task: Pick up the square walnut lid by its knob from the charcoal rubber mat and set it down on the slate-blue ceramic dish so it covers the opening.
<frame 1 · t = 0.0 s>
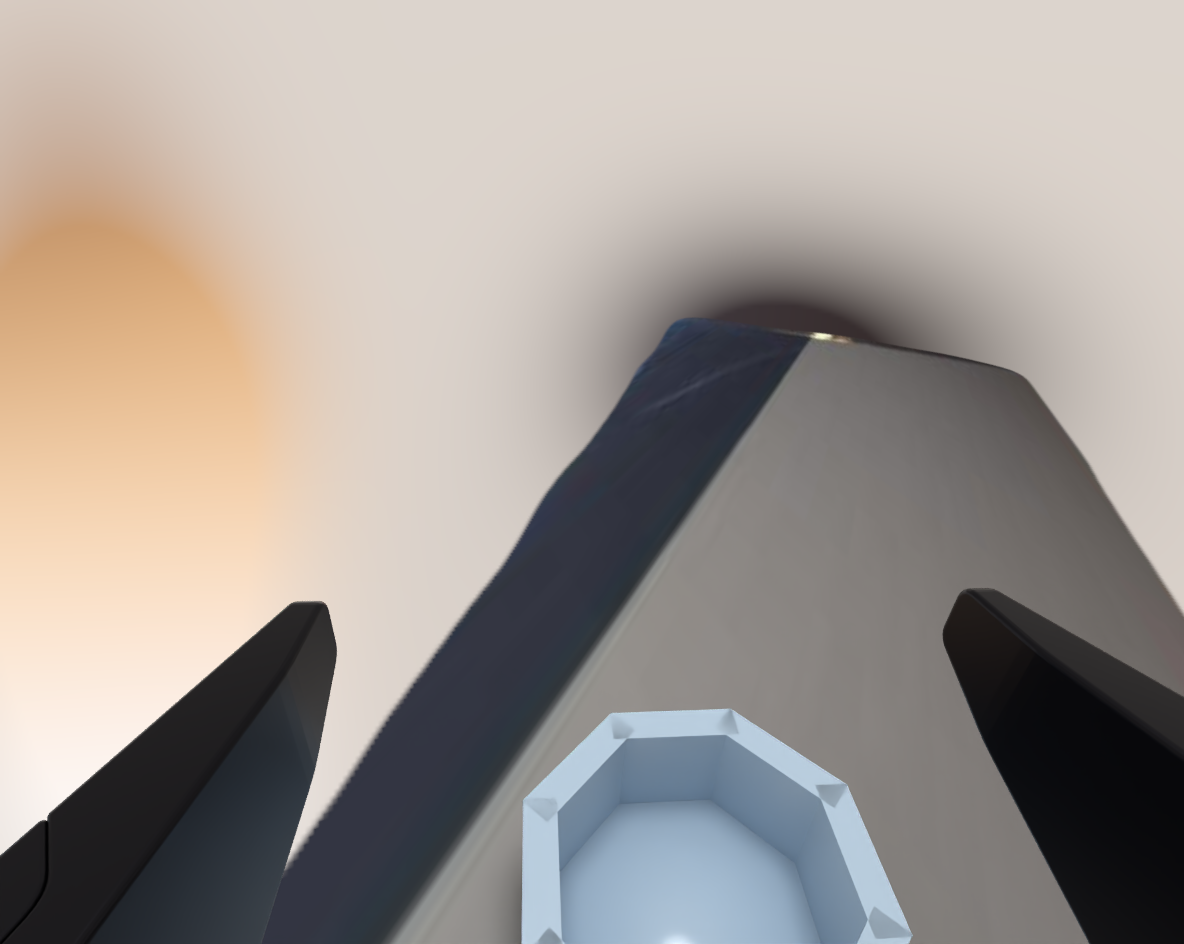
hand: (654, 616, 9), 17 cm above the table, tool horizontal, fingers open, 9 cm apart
bowl: (684, 938, 21), on the table
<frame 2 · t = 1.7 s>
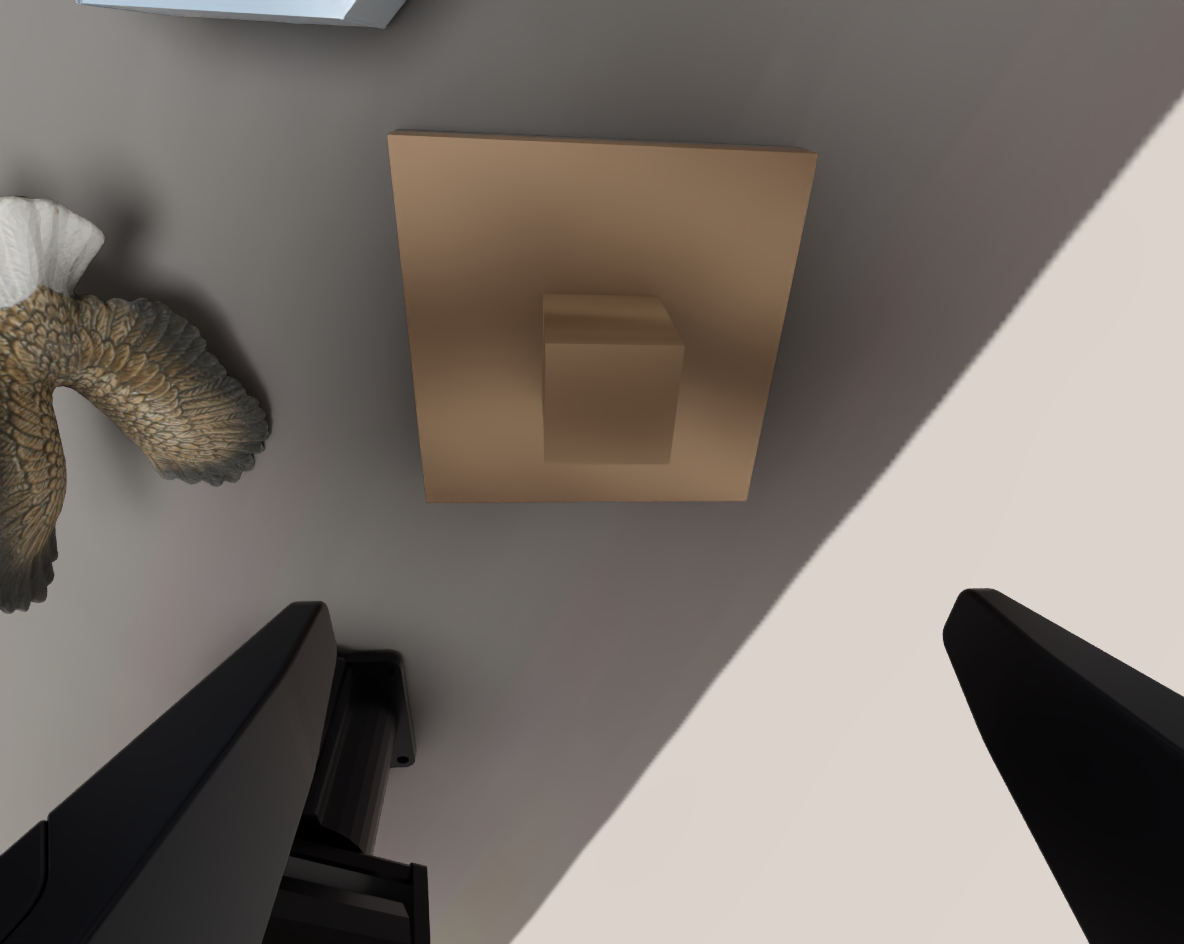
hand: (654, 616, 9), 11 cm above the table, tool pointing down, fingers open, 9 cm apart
lid: (595, 336, 19), resting on mat
mat: (594, 331, 19), on the table
eagle figurine: (119, 347, 18), on the table
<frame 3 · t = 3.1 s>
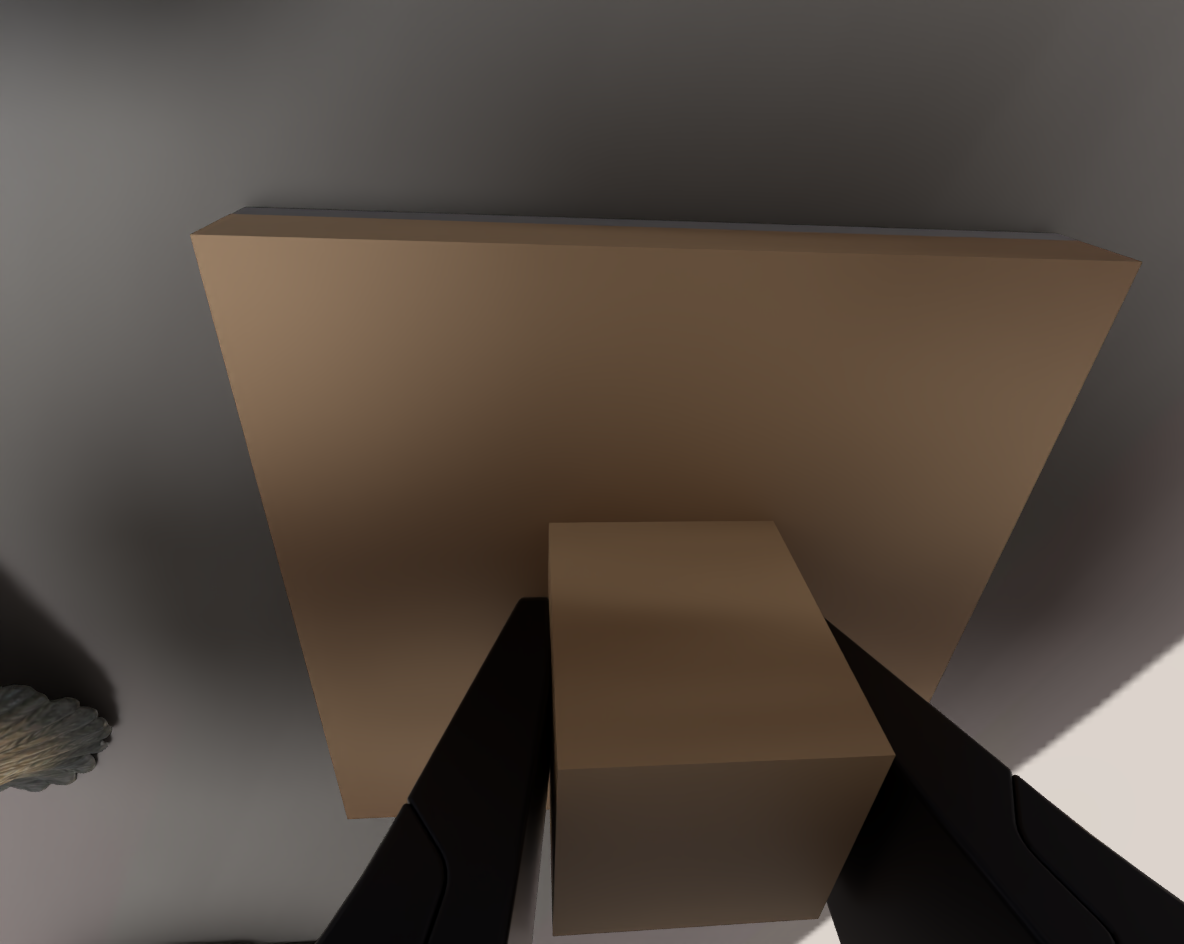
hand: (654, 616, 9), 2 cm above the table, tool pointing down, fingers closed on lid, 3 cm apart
lid: (642, 560, 10), resting on mat, touching gripper
mat: (639, 544, 11), on the table
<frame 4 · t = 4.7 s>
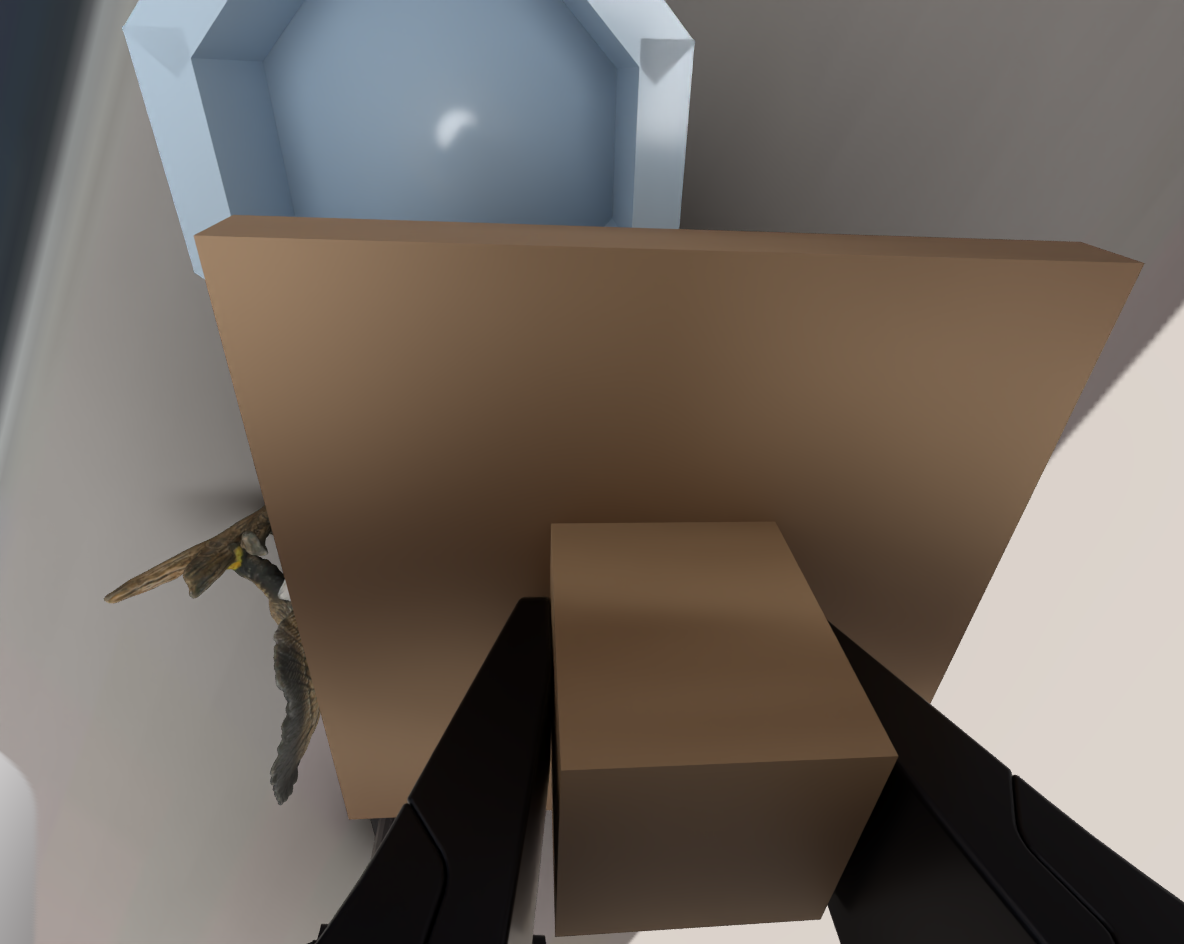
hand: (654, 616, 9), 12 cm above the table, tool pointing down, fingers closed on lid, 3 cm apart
lid: (643, 561, 10), point 11 cm above the table, touching gripper
bowl: (453, 142, 17), on the table
eagle figurine: (338, 572, 24), on the table
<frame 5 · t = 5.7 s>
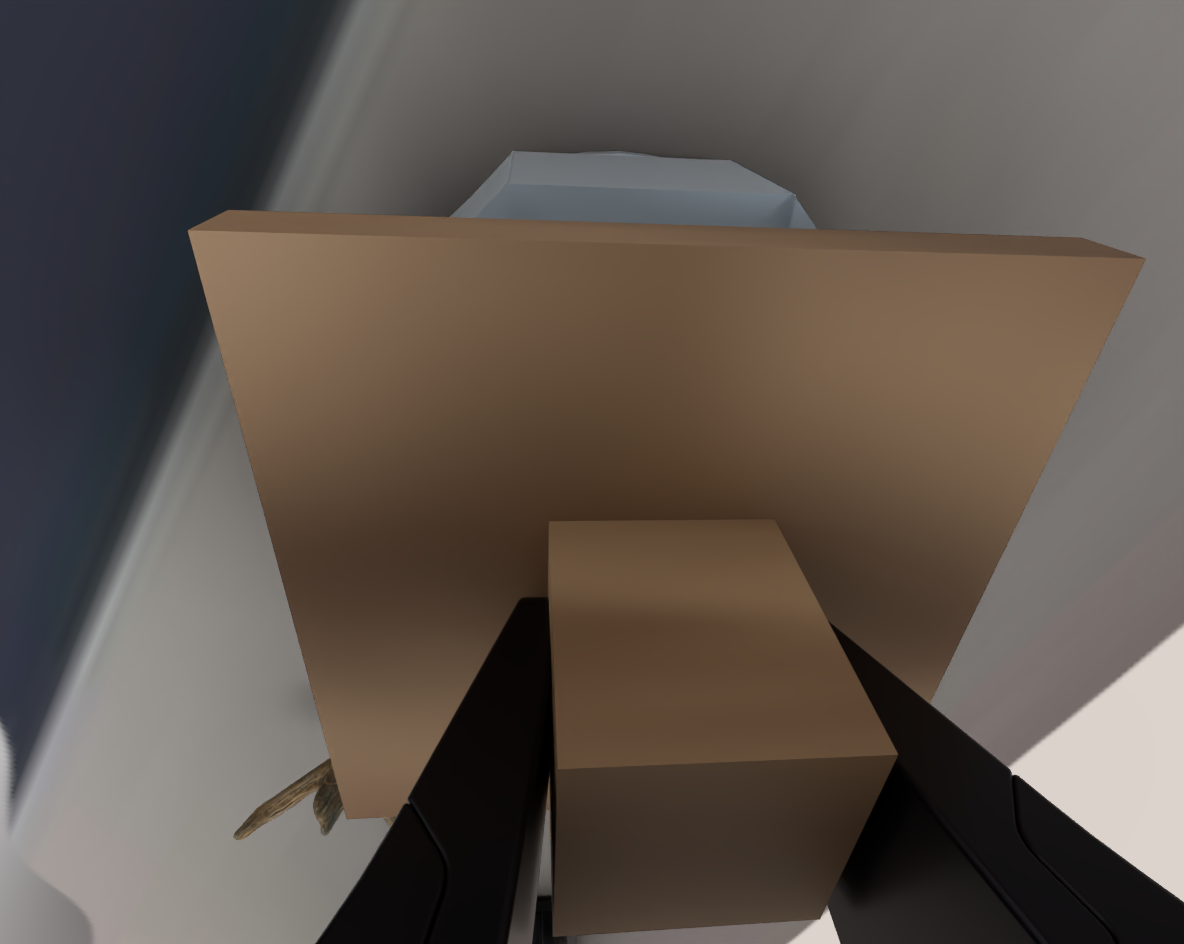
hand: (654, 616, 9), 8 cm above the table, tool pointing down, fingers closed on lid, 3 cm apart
lid: (642, 559, 10), point 7 cm above the table, touching gripper
bowl: (603, 380, 16), on the table
eagle figurine: (436, 747, 23), on the table
when the fingers open (7 cm above the table, at t = 6.4 s): lid drops 2 cm, resting on bowl.
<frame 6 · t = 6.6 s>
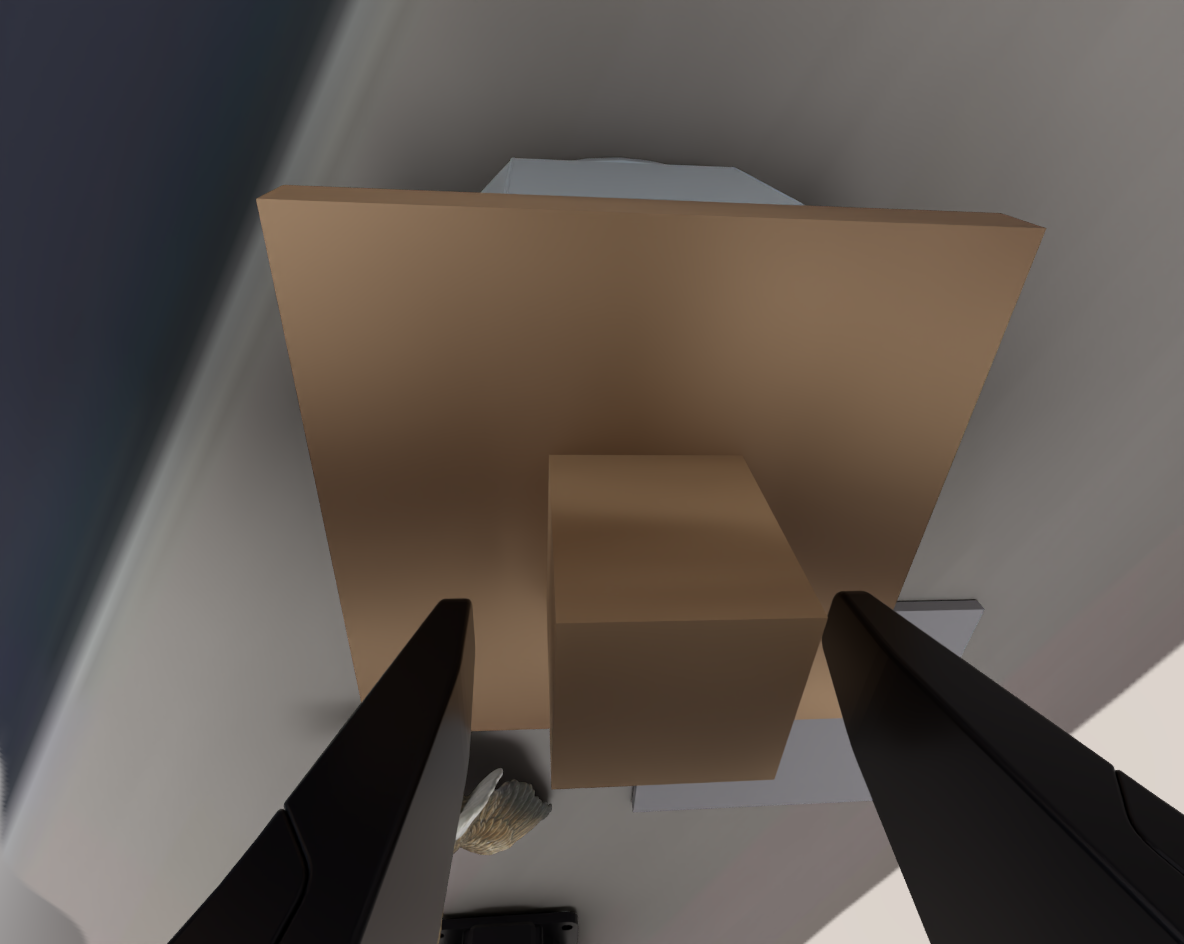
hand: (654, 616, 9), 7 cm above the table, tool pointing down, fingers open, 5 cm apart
lid: (630, 498, 12), point 4 cm above the table, touching bowl
bowl: (605, 390, 15), on the table
mat: (787, 711, 22), on the table
eagle figurine: (443, 764, 23), on the table
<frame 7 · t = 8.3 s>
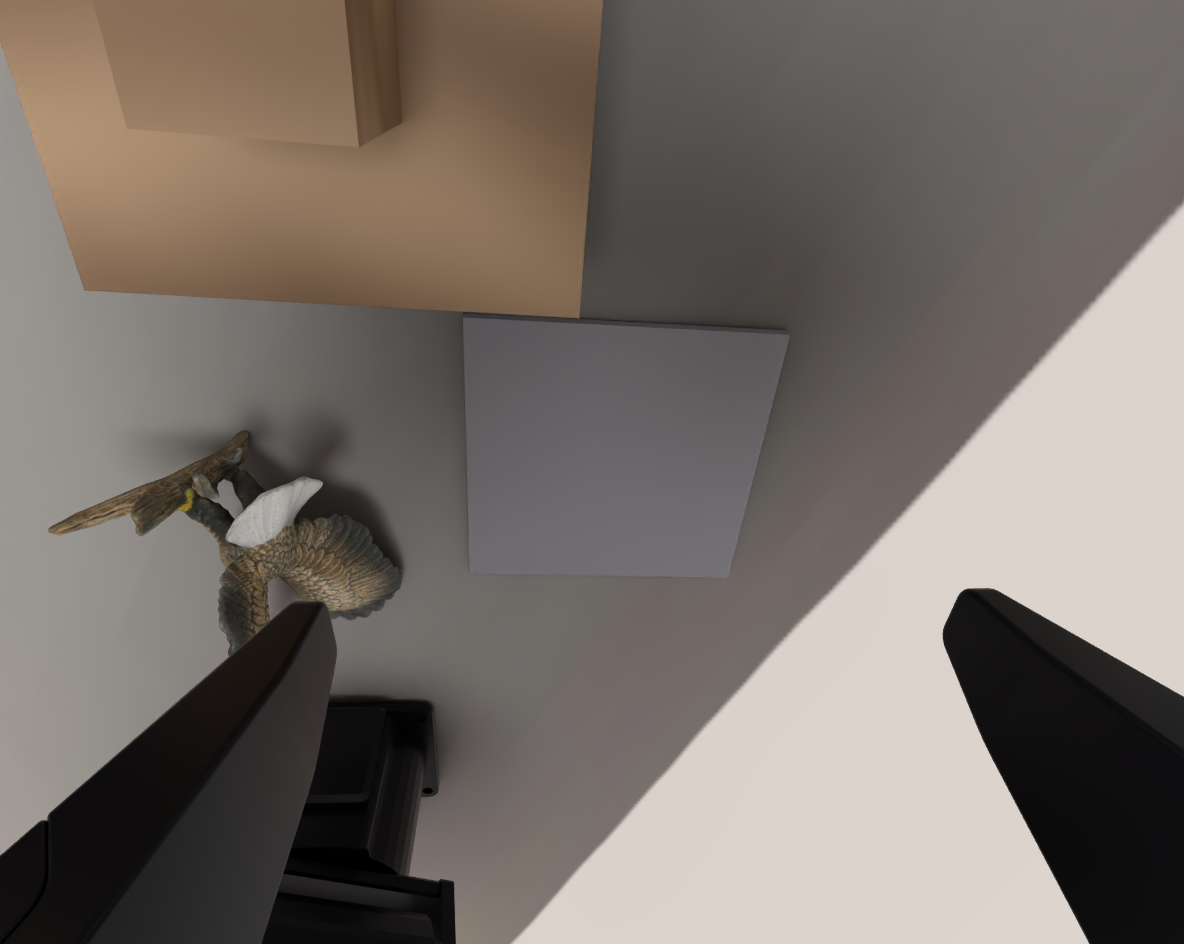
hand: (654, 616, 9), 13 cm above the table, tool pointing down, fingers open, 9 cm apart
lid: (321, 16, 12), point 4 cm above the table, touching bowl
mat: (613, 459, 23), on the table
eagle figurine: (293, 524, 24), on the table
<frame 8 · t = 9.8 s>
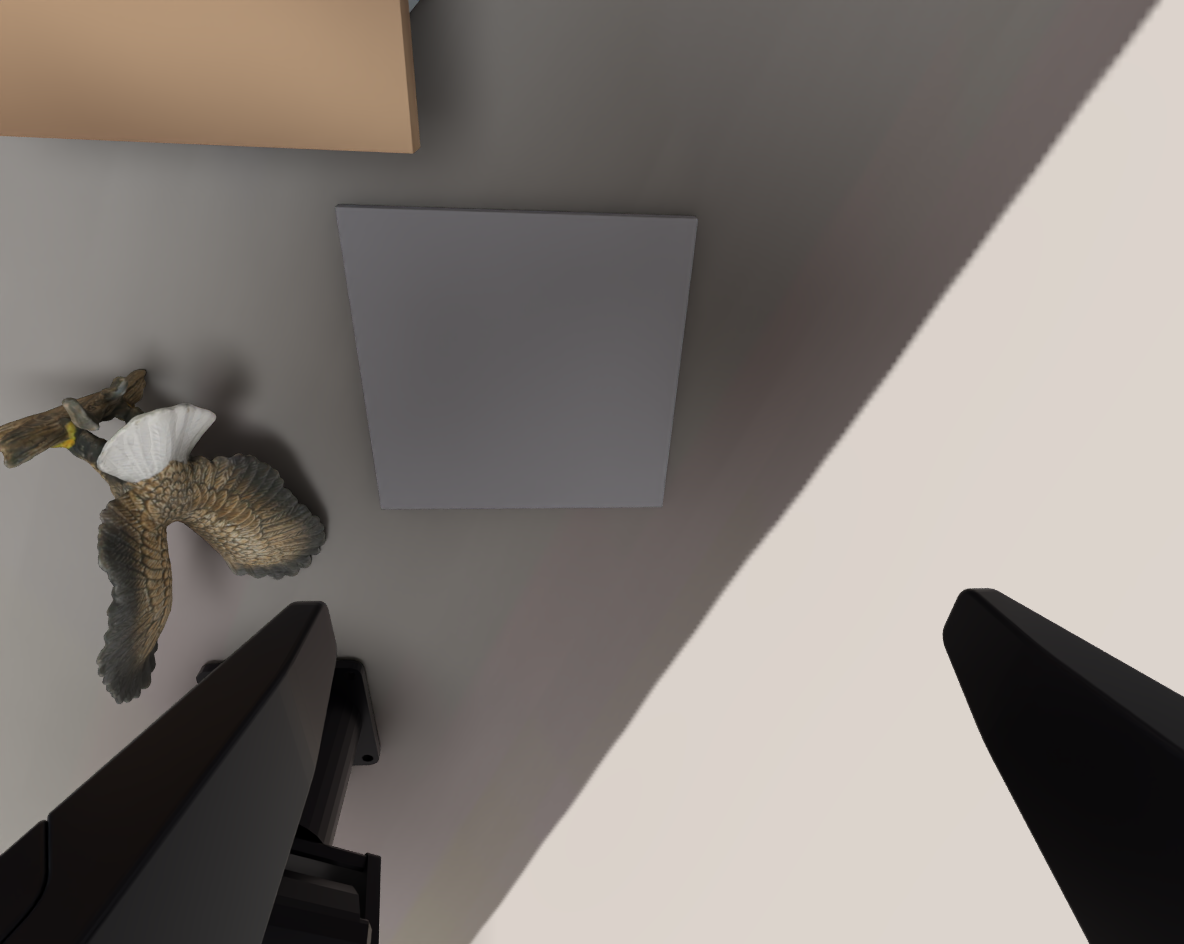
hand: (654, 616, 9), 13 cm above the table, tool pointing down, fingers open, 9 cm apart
mat: (523, 374, 21), on the table
eagle figurine: (206, 474, 22), on the table
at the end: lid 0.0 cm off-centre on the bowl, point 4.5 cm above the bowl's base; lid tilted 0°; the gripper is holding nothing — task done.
